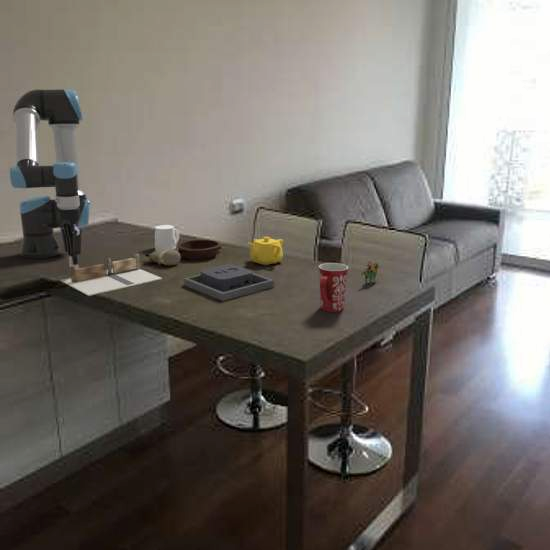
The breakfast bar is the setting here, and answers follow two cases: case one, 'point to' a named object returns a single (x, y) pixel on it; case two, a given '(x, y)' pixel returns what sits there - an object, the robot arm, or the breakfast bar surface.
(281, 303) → the breakfast bar surface
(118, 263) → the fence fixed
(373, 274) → the figurine
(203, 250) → the dish
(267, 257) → the teapot
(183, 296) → the breakfast bar surface
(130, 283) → the card
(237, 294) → the speaker coaster
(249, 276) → the streaming box
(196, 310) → the breakfast bar surface
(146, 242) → the breakfast bar surface
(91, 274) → the bar
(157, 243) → the mug
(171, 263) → the toy
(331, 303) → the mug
